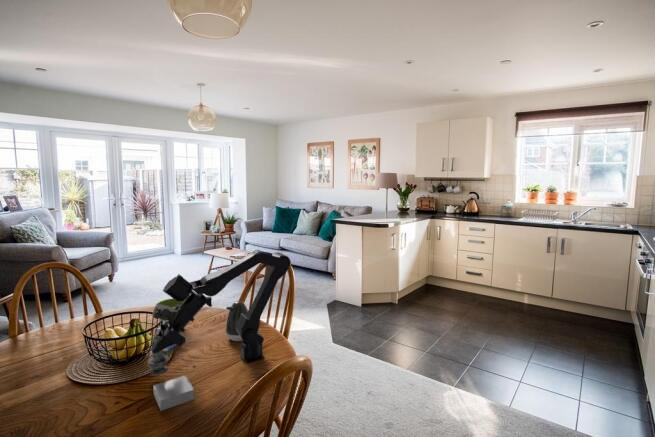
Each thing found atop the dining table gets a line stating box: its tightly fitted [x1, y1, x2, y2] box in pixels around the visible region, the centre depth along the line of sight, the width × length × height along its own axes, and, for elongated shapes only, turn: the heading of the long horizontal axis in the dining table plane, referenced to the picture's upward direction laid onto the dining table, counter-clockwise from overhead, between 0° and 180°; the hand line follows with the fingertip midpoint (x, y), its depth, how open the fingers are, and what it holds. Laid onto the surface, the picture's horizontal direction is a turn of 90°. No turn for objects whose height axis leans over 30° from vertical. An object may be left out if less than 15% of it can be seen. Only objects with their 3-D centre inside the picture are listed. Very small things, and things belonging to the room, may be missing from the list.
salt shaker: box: [147, 334, 169, 376], centre depth 112 cm, size 6×6×12 cm
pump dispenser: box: [224, 300, 249, 342], centre depth 142 cm, size 10×10×15 cm
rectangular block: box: [152, 375, 195, 412], centre depth 104 cm, size 9×9×3 cm
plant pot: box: [155, 297, 186, 322], centre depth 151 cm, size 12×12×11 cm
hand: (152, 349), depth 111 cm, fingers closed on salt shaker, 4 cm apart
